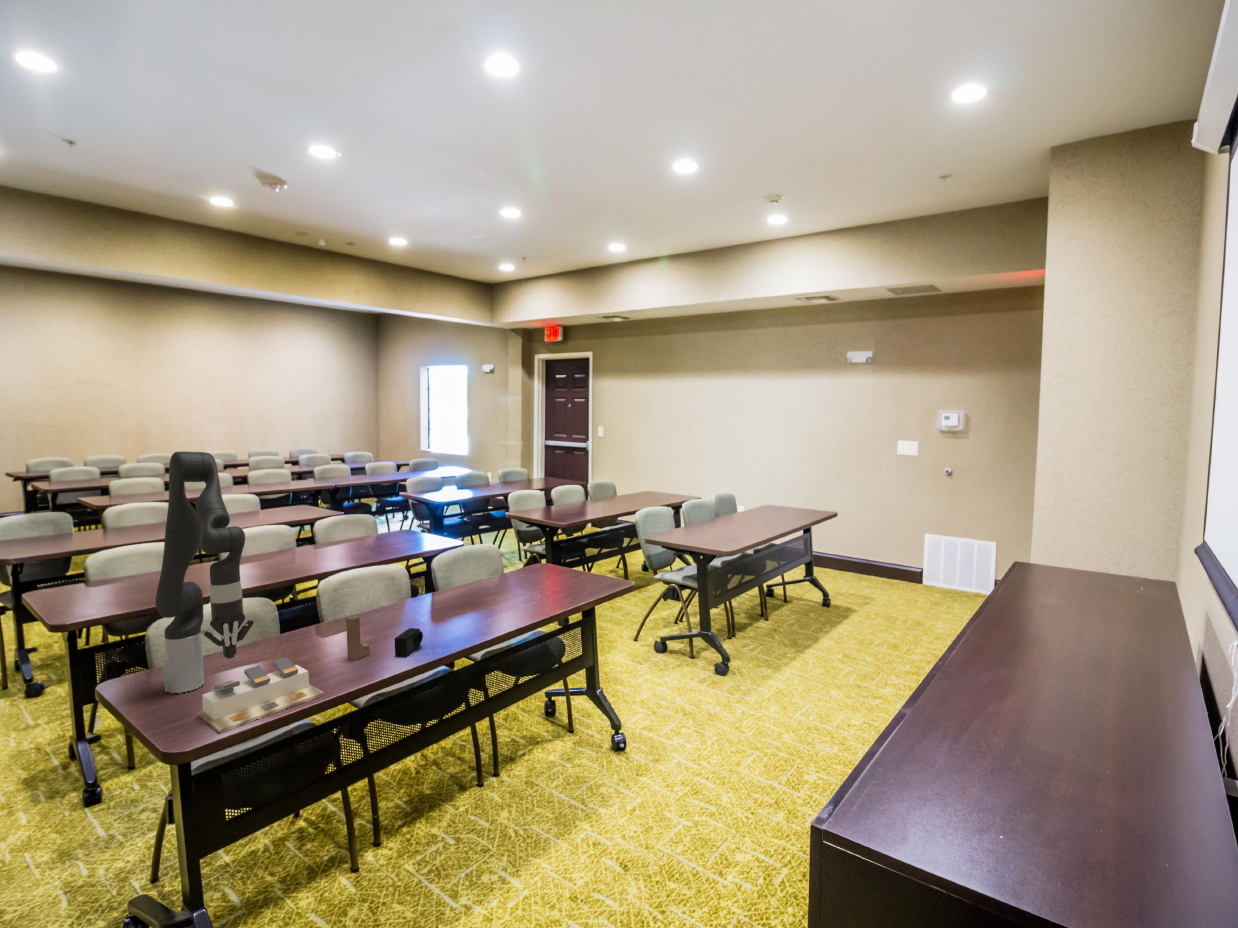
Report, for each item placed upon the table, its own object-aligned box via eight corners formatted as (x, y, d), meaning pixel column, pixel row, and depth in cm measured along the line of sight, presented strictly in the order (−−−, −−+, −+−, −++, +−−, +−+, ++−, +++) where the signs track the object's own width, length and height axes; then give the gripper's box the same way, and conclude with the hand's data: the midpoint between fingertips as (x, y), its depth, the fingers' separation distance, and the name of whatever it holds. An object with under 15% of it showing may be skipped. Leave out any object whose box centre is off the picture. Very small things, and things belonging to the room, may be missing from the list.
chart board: (219, 733, 161) (219, 729, 161) (198, 715, 171) (198, 711, 171) (324, 695, 183) (323, 691, 183) (300, 681, 193) (299, 677, 193)
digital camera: (409, 658, 211) (408, 638, 211) (395, 657, 212) (394, 637, 212) (423, 646, 221) (423, 628, 221) (410, 645, 222) (409, 627, 222)
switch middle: (255, 686, 175) (255, 683, 175) (244, 673, 179) (244, 669, 179) (269, 682, 178) (270, 678, 178) (258, 668, 183) (259, 665, 182)
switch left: (224, 690, 168) (223, 685, 168) (214, 689, 173) (213, 685, 173) (240, 685, 171) (239, 680, 172) (230, 684, 176) (229, 680, 176)
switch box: (213, 719, 167) (212, 699, 166) (203, 711, 171) (201, 691, 171) (309, 686, 187) (308, 668, 186) (297, 679, 192) (296, 662, 191)
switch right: (284, 677, 181) (284, 673, 181) (272, 664, 186) (273, 660, 185) (297, 672, 184) (298, 669, 184) (286, 660, 189) (286, 656, 189)
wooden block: (352, 660, 209) (350, 619, 208) (347, 658, 211) (345, 617, 209) (369, 654, 214) (368, 613, 213) (364, 652, 216) (362, 612, 215)
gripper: (204, 606, 161) (208, 668, 163) (257, 594, 172) (260, 653, 173) (194, 601, 166) (198, 661, 167) (246, 590, 176) (250, 647, 178)
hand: (230, 657), depth 170 cm, fingers closed
